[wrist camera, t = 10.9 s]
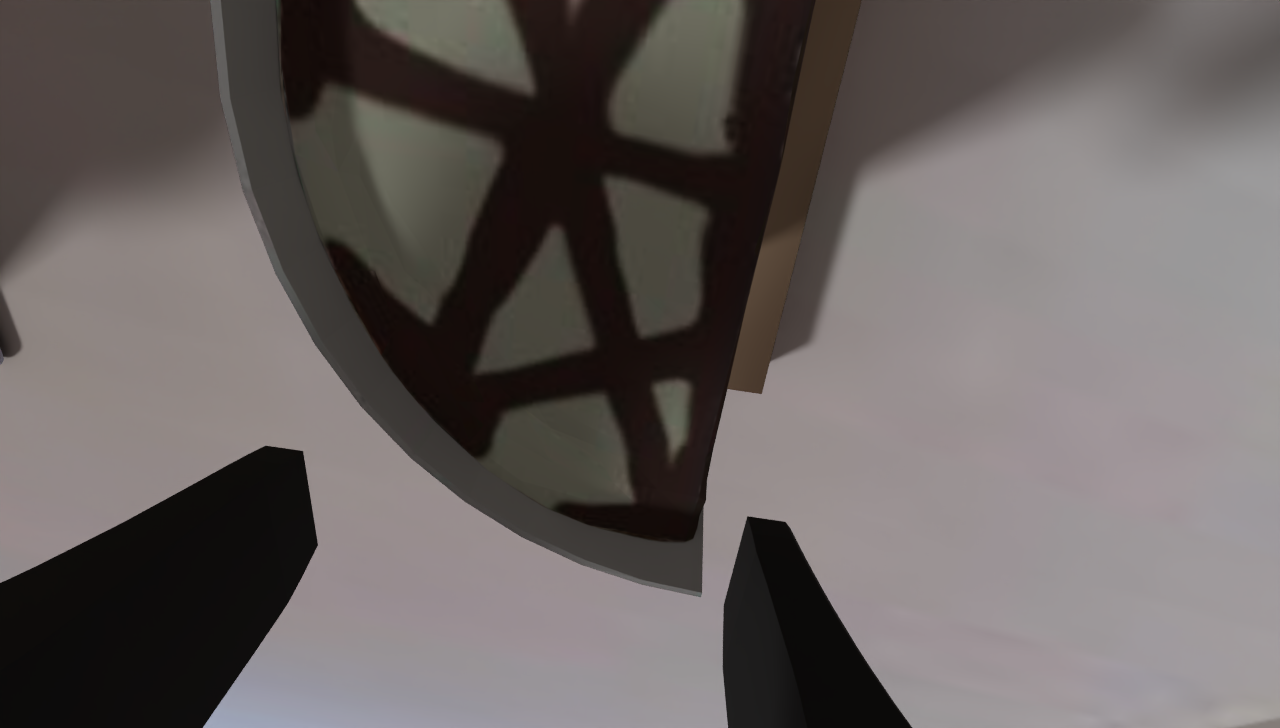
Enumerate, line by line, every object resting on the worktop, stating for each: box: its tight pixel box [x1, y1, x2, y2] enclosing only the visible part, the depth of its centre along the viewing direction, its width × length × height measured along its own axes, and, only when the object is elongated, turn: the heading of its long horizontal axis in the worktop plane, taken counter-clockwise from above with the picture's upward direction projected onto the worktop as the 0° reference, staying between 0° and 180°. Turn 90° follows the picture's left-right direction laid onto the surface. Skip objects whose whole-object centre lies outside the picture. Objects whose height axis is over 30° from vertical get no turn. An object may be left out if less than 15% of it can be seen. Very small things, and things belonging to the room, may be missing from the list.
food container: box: [210, 0, 816, 597], centre depth 11 cm, size 12×6×10 cm, turn 173°
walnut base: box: [727, 0, 861, 394], centre depth 16 cm, size 10×16×2 cm, turn 173°
